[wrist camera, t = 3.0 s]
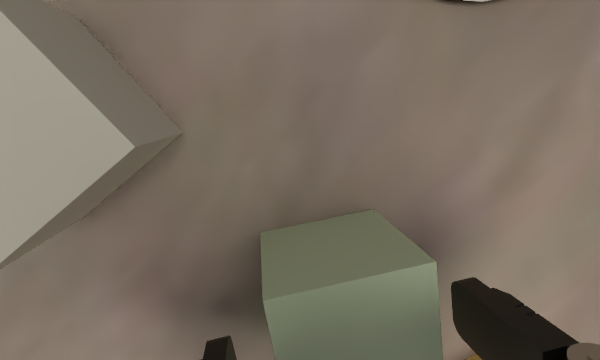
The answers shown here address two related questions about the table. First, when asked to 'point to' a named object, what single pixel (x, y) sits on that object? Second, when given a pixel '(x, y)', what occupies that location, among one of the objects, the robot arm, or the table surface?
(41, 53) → the grey cube
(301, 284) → the green cube
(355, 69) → the table surface
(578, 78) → the table surface
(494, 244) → the table surface
